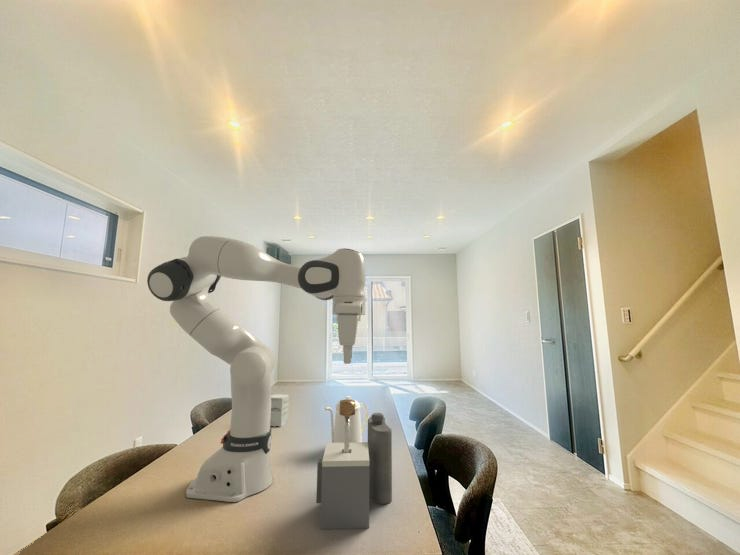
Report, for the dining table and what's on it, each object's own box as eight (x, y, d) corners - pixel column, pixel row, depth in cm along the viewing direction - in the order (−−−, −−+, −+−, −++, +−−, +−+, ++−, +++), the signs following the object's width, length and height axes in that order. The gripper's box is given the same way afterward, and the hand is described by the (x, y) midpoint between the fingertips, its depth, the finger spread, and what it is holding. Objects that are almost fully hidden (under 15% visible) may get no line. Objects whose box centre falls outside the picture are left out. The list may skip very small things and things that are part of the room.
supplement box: (265, 426, 136) (267, 397, 138) (273, 421, 143) (275, 393, 145) (281, 427, 135) (282, 397, 137) (288, 422, 142) (289, 394, 144)
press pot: (313, 529, 68) (315, 461, 70) (319, 501, 78) (320, 442, 81) (369, 528, 68) (369, 460, 70) (367, 500, 79) (367, 442, 81)
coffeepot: (310, 457, 104) (312, 400, 107) (356, 436, 124) (357, 389, 127) (333, 466, 98) (334, 405, 101) (378, 443, 117) (378, 392, 120)
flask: (365, 476, 91) (365, 407, 94) (383, 475, 92) (383, 406, 95) (371, 505, 77) (371, 422, 80) (393, 504, 77) (393, 421, 80)
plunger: (331, 515, 70) (333, 404, 74) (333, 499, 77) (335, 398, 81) (359, 514, 70) (360, 404, 74) (359, 498, 77) (360, 398, 81)
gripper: (339, 310, 91) (338, 356, 89) (334, 305, 71) (332, 366, 69) (360, 310, 91) (359, 357, 89) (361, 306, 71) (360, 366, 69)
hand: (347, 361), depth 79 cm, fingers open, 8 cm apart
